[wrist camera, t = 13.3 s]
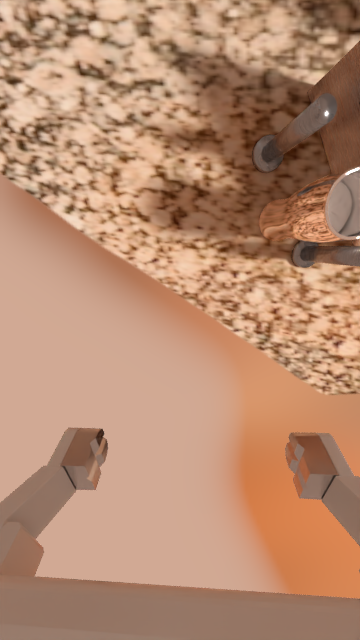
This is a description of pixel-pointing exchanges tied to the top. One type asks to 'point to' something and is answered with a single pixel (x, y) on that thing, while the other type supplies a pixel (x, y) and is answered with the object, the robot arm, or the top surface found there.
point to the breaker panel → (342, 114)
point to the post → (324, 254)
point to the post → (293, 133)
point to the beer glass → (317, 211)
